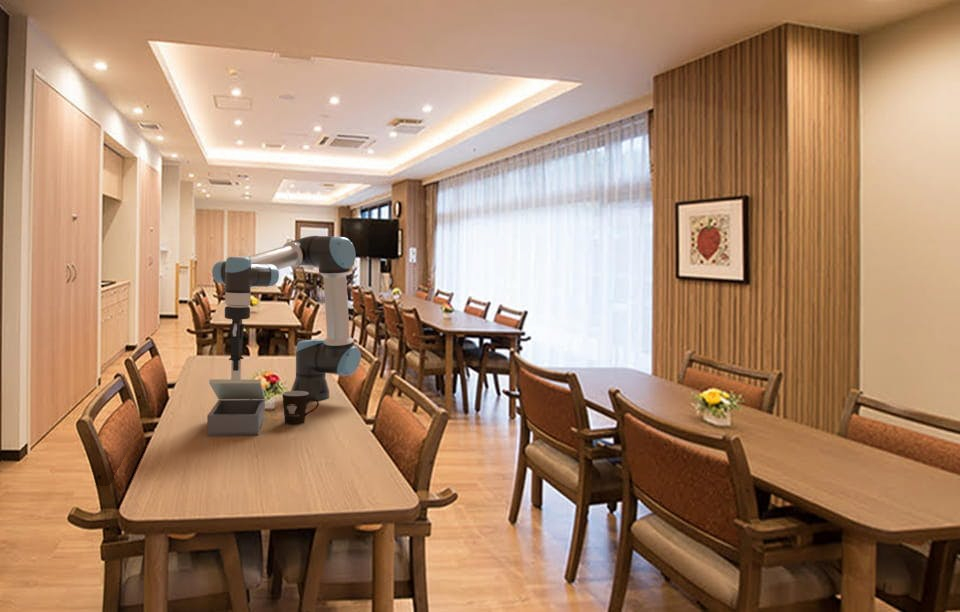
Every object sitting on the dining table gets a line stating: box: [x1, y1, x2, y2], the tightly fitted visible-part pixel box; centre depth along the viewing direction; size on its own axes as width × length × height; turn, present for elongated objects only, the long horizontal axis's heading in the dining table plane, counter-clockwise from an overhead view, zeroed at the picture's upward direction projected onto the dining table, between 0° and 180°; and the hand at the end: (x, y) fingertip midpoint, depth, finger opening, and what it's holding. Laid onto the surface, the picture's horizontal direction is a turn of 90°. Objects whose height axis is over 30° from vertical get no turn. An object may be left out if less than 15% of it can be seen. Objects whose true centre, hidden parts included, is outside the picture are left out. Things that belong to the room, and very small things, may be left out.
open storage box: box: [206, 399, 266, 437], centre depth 217 cm, size 15×22×6 cm
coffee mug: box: [281, 390, 320, 426], centre depth 225 cm, size 12×9×10 cm
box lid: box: [208, 378, 266, 401], centre depth 217 cm, size 15×22×1 cm
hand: (235, 380), depth 210 cm, fingers closed
